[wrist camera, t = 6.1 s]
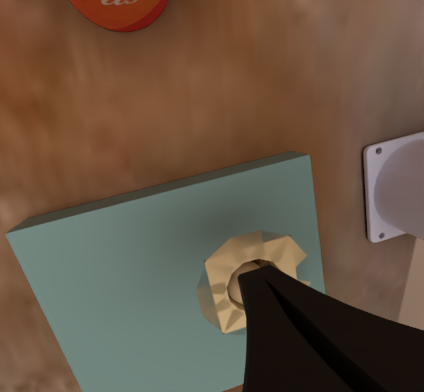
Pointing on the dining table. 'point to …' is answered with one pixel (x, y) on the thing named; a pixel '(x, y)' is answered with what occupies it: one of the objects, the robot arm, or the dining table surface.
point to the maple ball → (233, 282)
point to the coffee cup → (121, 13)
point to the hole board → (168, 273)
